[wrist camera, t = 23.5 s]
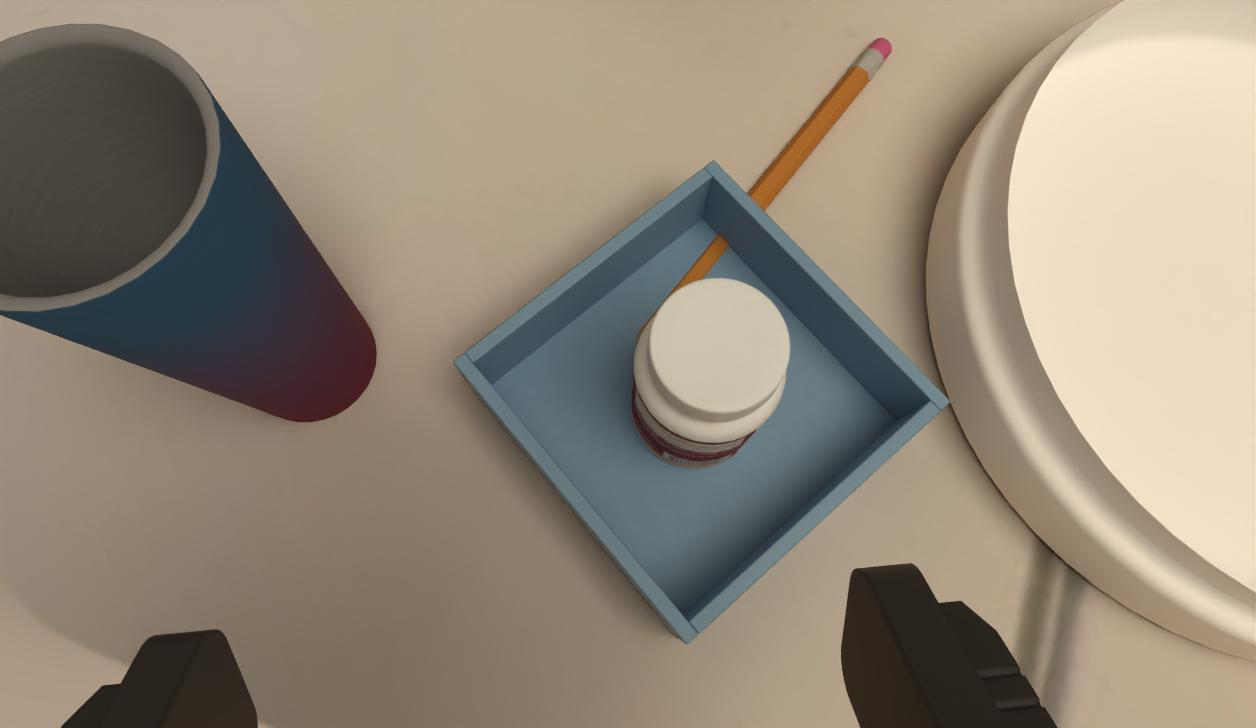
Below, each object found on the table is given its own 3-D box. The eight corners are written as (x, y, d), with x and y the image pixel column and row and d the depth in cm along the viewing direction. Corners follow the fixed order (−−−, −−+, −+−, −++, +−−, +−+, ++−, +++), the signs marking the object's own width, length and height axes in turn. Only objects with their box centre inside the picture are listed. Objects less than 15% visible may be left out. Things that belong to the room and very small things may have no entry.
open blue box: (677, 638, 29) (687, 645, 25) (472, 389, 31) (452, 361, 27) (909, 425, 31) (951, 401, 27) (702, 209, 33) (713, 158, 30)
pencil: (870, 39, 36) (605, 361, 31) (886, 32, 35) (616, 363, 31) (881, 56, 36) (621, 377, 32) (898, 50, 35) (632, 379, 31)
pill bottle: (686, 324, 31) (712, 232, 23) (779, 406, 31) (839, 338, 23) (603, 411, 30) (599, 345, 22) (697, 497, 30) (729, 462, 22)
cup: (379, 258, 32) (194, -8, 18) (417, 416, 31) (244, 260, 16) (210, 303, 32) (-123, 63, 17) (238, 467, 30) (-106, 351, 16)
